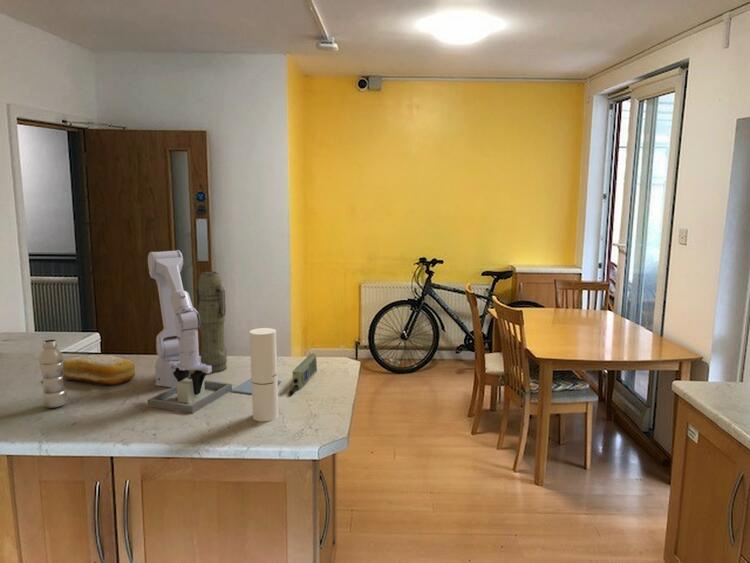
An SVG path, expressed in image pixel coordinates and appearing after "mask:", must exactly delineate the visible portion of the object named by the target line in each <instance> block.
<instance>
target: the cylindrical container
mask: <svg viewBox="0 0 750 563" xmlns="http://www.w3.org/2000/svg"><path fill="white" fill-rule="evenodd" d="M249 347H250V348H249V350H250V375H251V376H250V378H251V380H252V395H251V399H252V400H251V401H252V402H251V405H252V418H253V420H254V421H257V422H271V421H274V420H276V419H277V418H278V417H279V397H278V396H279V393H278V392H279V390H278V389H279V388H278V387H279V386H278V385H279V384H278V385H277V380H278V362H277V361H278V359H277V358H278V356H277V352H278V351H277V330H276V329H274V328H271V327H259V328H253V329H250V331H249Z"/></svg>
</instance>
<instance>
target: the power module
mask: <svg viewBox="0 0 750 563" xmlns="http://www.w3.org/2000/svg"><path fill="white" fill-rule="evenodd" d="M204 380H205V379H204ZM204 380H203V383H202V387H201V392H200V393H199V394H197V395H195V394H194V387H193V381H192V378H191V376H190V375H189V376H188V377H187V378H185V379H183V380H181V381H179V382H177V393H176V394H177V397H176V398H177V403H183V404H190V403H191V402H194V401H195V400H197V399H199V398H201V397H203V396H204V395H205V394H206V390H205V389H206V388H205V385H204Z"/></svg>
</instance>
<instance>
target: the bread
mask: <svg viewBox="0 0 750 563" xmlns="http://www.w3.org/2000/svg"><path fill="white" fill-rule="evenodd" d="M135 376H136V366H135V363H134V362H133V361H132V360H129V359H127V358H123V357H119V356H115V355H114V356H113V355H104V354H90V355H89V354H88V355H81V356H75V357H74V356H73V357H70V358H68V359H66V360H65V361H64V360H63V378H65V379H67V380H72V381H78V382H84V383H88V384H94V385H101V386H114V385H118V384H124V383H126V382H129V381H131V380H132V379H134V378H135Z"/></svg>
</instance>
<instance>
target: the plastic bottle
mask: <svg viewBox="0 0 750 563" xmlns="http://www.w3.org/2000/svg"><path fill="white" fill-rule="evenodd" d="M41 344H42V349H43V350H42V352H41V353H40V355H39V357H38V363H39V367H40V370H41V375H42V385H43V386H42V391H43V392H42V403H43V405H44V406H45V407H46V408H49V409H52V408H58V407H62V406H64V405H65V404H67V403H66V402H67V401H68V393H67V389H66V386H65V382H64V375H63V362H64V355H63V353H62V352H61V351H60V350H59V349H58V348H57V347H58V344H57V339H46V340H43V341H42V342H41Z"/></svg>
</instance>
